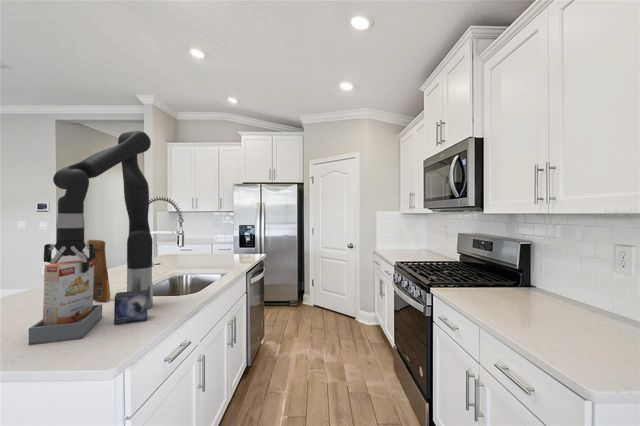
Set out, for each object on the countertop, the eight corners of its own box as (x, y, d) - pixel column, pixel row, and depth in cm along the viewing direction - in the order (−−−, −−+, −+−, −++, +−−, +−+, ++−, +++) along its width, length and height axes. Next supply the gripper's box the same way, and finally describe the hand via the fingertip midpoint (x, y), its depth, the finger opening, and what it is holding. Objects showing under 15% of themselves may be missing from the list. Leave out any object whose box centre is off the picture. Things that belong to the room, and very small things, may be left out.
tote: (102, 317, 119) (102, 304, 119) (82, 338, 99) (82, 323, 99) (58, 321, 114) (58, 308, 114) (28, 344, 94) (28, 328, 94)
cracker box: (58, 329, 100) (59, 265, 100) (41, 328, 100) (42, 264, 100) (94, 315, 114) (95, 258, 114) (79, 314, 114) (80, 258, 114)
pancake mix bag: (96, 305, 135) (96, 241, 135) (85, 296, 147) (86, 238, 148) (113, 301, 140) (114, 240, 140) (102, 294, 153) (103, 237, 153)
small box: (113, 325, 111) (113, 296, 111) (115, 320, 116) (115, 292, 116) (146, 321, 116) (147, 293, 116) (147, 315, 121) (147, 289, 121)
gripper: (98, 226, 113) (98, 270, 113) (50, 226, 108) (49, 272, 108) (91, 227, 106) (91, 274, 106) (39, 227, 101) (39, 277, 101)
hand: (70, 273), depth 107 cm, fingers closed on cracker box, 8 cm apart
